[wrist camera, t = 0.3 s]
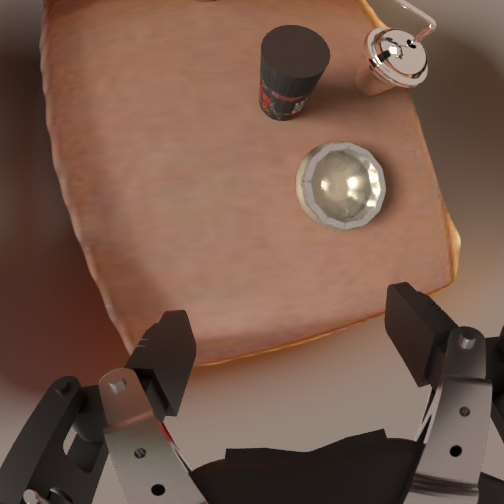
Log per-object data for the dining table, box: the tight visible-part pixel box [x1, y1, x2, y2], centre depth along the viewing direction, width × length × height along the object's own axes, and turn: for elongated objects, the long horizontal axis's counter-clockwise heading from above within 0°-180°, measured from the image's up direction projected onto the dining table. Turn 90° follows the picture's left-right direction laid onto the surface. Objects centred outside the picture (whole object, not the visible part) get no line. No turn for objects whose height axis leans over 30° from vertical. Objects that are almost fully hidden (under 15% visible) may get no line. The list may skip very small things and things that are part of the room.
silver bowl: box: [295, 142, 386, 230], centre depth 33 cm, size 12×12×4 cm
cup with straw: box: [354, 0, 436, 96], centre depth 22 cm, size 8×9×20 cm
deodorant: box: [259, 25, 330, 121], centre depth 26 cm, size 6×6×15 cm
